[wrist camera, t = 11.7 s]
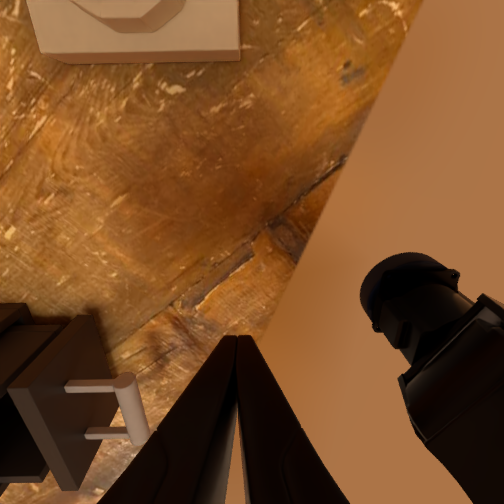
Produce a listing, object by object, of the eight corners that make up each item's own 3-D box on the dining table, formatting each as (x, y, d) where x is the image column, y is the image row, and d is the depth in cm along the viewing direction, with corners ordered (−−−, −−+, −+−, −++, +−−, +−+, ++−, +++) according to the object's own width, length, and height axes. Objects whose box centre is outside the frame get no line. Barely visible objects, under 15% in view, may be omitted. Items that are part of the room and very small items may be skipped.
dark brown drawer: (151, 313, 21) (110, 386, 15) (169, 403, 25) (143, 489, 19) (-64, 317, 21) (-195, 392, 15) (-10, 406, 25) (-95, 494, 19)
